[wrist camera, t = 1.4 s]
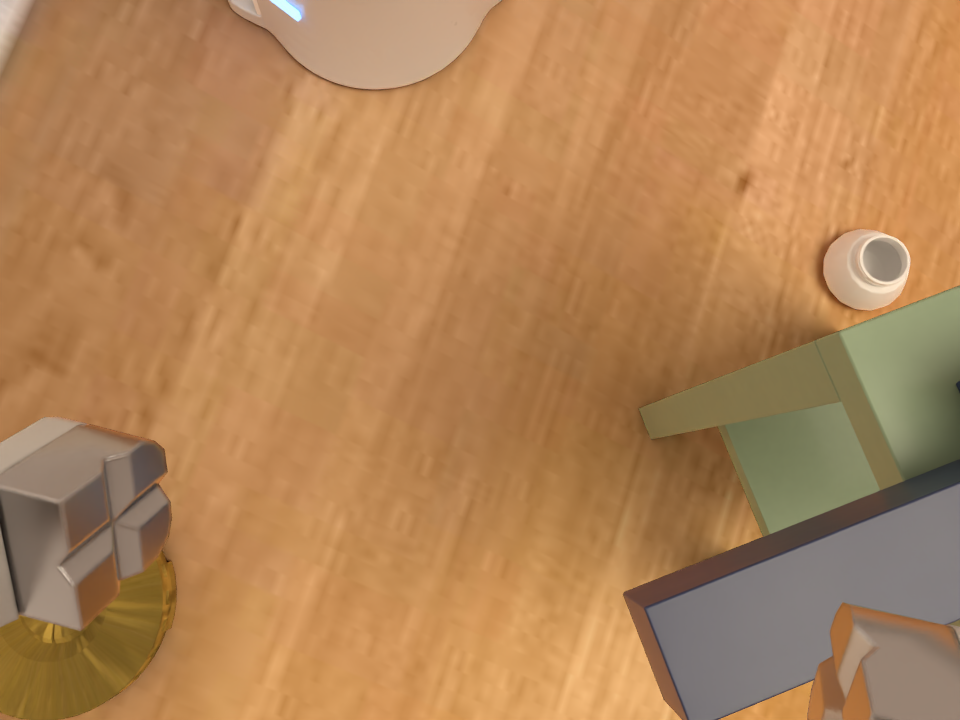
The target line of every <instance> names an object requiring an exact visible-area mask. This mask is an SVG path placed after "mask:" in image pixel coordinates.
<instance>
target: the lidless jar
mask: <svg viewBox="0 0 960 720" xmlns="http://www.w3.org/2000/svg"><path fill="white" fill-rule="evenodd" d="M909 268H910V256H909V252H908V250H907V248H906V247H905V245H904V244H903V243H902V242H901V241H900V240H898V239H897V238H895V237H893V236H889V235H887V234H885V233H882V232H879V231H876V230H866V229H857V230H854V231H851V232H847V233H844V234H843V235H841V236H840V237H839V238H838V239H837V240H836V241H834V242H833V243H832V244H831V245H830V247H829V249H828V251H827V253H826V255H825V257H824V269H823V275H824V277H825V280H826V283H827V285H828V288H829V290H830V291H831V292H832V293H833V294H834V295H835V297H836V298H837V299H838V300H839V301H840V302H842V303H844V304H846V305H848V306H850V307H852V308H854V309H858V310H869V311H872V310H875V309H878V308H881V307H884V306H887V305H889V304H890V303H892V302H893V301H894V300H895V299H896V298H897V297H898V296H899V295H901V292H902V290H903V288H904V286H905V283H906V281H907V278H908V274H909Z"/></svg>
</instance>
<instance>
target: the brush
mask: <svg viewBox="0 0 960 720" xmlns="http://www.w3.org/2000/svg"><path fill="white" fill-rule="evenodd" d="M956 386H957V388H958V391H959V393H960V381H958V382H957V383H956ZM623 596H624V598H625V601H626V604H627V606H628V609H629V611H630V614H631V616H632V619H633V622H634V624H635V627H636V629H637V632H638V634H639V637H640V640H641V642H642V645H643V647H644V650H645V653H646V655H647V658H648V660H649V663H650V665H651V668H652V671H653V673H654V676H655V678H656V681H657V684H658V686H659V689H660V691H661V694H662V696H663V699H664V700H665V702H666V703H667V704H668V705H669V706H670V707H671V708H672V709H673V710H674V711H675V712H676V713H677V714H678V716H679V717H680V718H681V719H682V720H718V719H721V718H723V717H725V716H728V715H730V714H733V713H735V712H738V711H740V710H742V709H745V708H747V707H750V706H752V705H754V704H757V703H759V702H762V701H764V700H767V699H769V698H771V697H774V696H776V695H779V694H781V693H784V692H786V691H788V690H791V689H793V688H796V687H798V686H800V685H803V684H805V683H808V682H810V681H813V680H814V678H815V675H816V671H817V668H818V665H819V664H820V663H821V662H823V661H825V660H826V659H828V658H830V657H831V656H833V653H832V646H831V640H830V633H829V631H830V629H831V626H832V623H833V620H834V617H835V614H836V612H837V610H838V609H839V607H840V605H841V604H842V602H844V603H849V604H853V605H858V606H862V607H867V608H871V609H875V610H880V611H884V612H889V613H893V614H898V615H902V616H907V617H911V618H916V619H920V620H924V621H929V622H933V623H938V624H942V625H947V624H950V623H953V622H955V621H958V620H960V459H958V460H956V461H953V462H951V463H948V464H946V465H943V466H941V467H938V468H936V469H933V470H931V471H928V472H926V473H923V474H921V475H918V476H915V477H913V478H910V479H908V480H905V481H903V482H900V483H898V484H895V485H893V486H890V487H888V488H885V489H883V490H880V491H878V492H875V493H873V494H870V495H868V496H865V497H863V498H860V499H857V500H855V501H852V502H850V503H847V504H845V505H842V506H840V507H837V508H835V509H832V510H830V511H827V512H825V513H822V514H820V515H817V516H815V517H812V518H810V519H807V520H805V521H802V522H799V523H797V524H794V525H792V526H789V527H787V528H784V529H782V530H779V531H777V532H774V533H772V534H769V535H767V536H764V537H762V538H759V539H757V540H754V541H752V542H749V543H747V544H744V545H741V546H739V547H736V548H734V549H731V550H729V551H726V552H724V553H721V554H719V555H716V556H714V557H711V558H709V559H706V560H704V561H701V562H699V563H696V564H694V565H691V566H689V567H686V568H683V569H681V570H678V571H676V572H673V573H671V574H668V575H666V576H663V577H661V578H658V579H656V580H653V581H651V582H648V583H646V584H643V585H641V586H638V587H636V588H633V589H631V590H628V591H625V592H624V593H623Z"/></svg>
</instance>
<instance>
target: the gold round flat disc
mask: <svg viewBox="0 0 960 720" xmlns="http://www.w3.org/2000/svg"><path fill="white" fill-rule="evenodd" d="M175 607H176V579H175V572H174V568H173V564H172V561H171V562H168V563H167V561H166V559H165V556H164V553H163V551H161V553H160V555H159V557H158V558H157V559H156V560H155V561H154V562H153V563H152V564H151V565H150V566H149V567H148V568H147V569H146V570H145V571H144V572H143V573H140V574H137V575H135V576H132V577H129V578H126V579H124V580H121V581H120V592H119V596H118V597H117V598H116V599H115V600H114V601H113V602H112V603H111V604H109V605H108V606H107V607H106V608H105V609H104V610H103V611H102V612H101V613H100V614H99V615H98V616H97V617H96V618H95V619H94V620H93V621H91V622H90V623H89V624H88V625H87V626H86V627H85V628H84V629H83V630H82V631H78V630H74V629H71V628H67V627H63V626H59V625H55V624H52V623H48V622H44V621H40V620H36V619H33V618H29V617H25V616H21V615H19V618H18V619H17V620H15V621H13V622H10V623H8V624H6V625H4V626H2V627H0V712H1V713H3V714H6V715H9V716H12V717H16V718H19V719H25V720H60V719H65V718H69V717H73V716H77V715H80V714H82V713H85V712H87V711H90V710H92V709H94V708H96V707H98V706H99V705H101V704H103V703H105V702H106V701H108V700H109V699H111V698H113V697H114V696H116V695H117V694H119V693H120V692H121V691H123V690H124V689H126V688H127V687H128V686H129V685H130V684H131V683H132V682H134V681H135V680H136V679H137V678H138V677H139V676H140V674H141V673H142V672H143V671H144V670H145V669H146V668H147V666H148V665H149V663H150V662H151V660H152V659H153V657H154V656H155V654H156V652H157V650H158V649H159V647H160V645H161V643H162V640H163V638H164V635H165V632H166V630H168V629H170V628H171V626H172V622H173V619H174V615H175Z"/></svg>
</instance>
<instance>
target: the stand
mask: <svg viewBox="0 0 960 720" xmlns="http://www.w3.org/2000/svg"><path fill="white" fill-rule="evenodd" d="M958 381H960V285H959V286H957V287H954V288H952V289H949V290H946V291H944V292H941V293H938V294H936V295H933V296H930V297H928V298H925V299H923V300H920V301H917V302H915V303H912V304H909V305H907V306H904V307H901V308H899V309H896V310H893V311H891V312H888V313H886V314H883V315H880V316H878V317H875V318H872V319H870V320H867V321H864V322H862V323H859V324H856V325H854V326H851V327H849V328H846V329H843V330H841V331H838V332H835V333H833V334H830V335H828V336H825V337H822V338H820V339H817V340H815V341H812V342H809V343H807V344H804V345H802V346H799V347H796V348H794V349H791V350H789V351H786V352H783V353H781V354H778V355H776V356H773V357H771V358H768V359H765V360H763V361H760V362H758V363H755V364H752V365H750V366H747V367H745V368H742V369H739V370H737V371H734V372H732V373H729V374H726V375H724V376H721V377H719V378H716V379H713V380H711V381H708V382H706V383H703V384H700V385H698V386H695V387H693V388H690V389H688V390H685V391H682V392H680V393H677V394H675V395H672V396H669V397H667V398H664V399H662V400H659V401H656V402H654V403H651V404H649V405H646V406H643V407H641V408H639V411H640V414H641V416H642V419H643V421H644V424H645V426H646V429H647V431H648V434H649V436H650V439H656V438H661V437H666V436H671V435H676V434H681V433H686V432H691V431H696V430H701V429H706V428H712V427H718V429H719V431H720V434H721V436H722V439H723V441H724V443H725V446H726V448H727V451H728V453H729V456H730V458H731V460H732V463H733V465H734V468H735V470H736V472H737V475H738V477H739V480H740V482H741V485H742V487H743V489H744V492H745V494H746V497H747V499H748V501H749V504H750V506H751V509H752V511H753V514H754V516H755V518H756V521H757V523H758V526H759V528H760V530H761V533H762V535H763V537H764V536H767V535H769V534H772V533H774V532H777V531H779V530H782V529H784V528H787V527H789V526H792V525H794V524H797V523H799V522H802V521H805V520H807V519H810V518H812V517H815V516H817V515H820V514H822V513H825V512H827V511H830V510H832V509H835V508H837V507H840V506H842V505H845V504H847V503H850V502H852V501H855V500H857V499H860V498H863V497H865V496H868V495H870V494H873V493H875V492H878V491H880V490H883V489H885V488H888V487H890V486H893V485H895V484H898V483H900V482H903V481H905V480H908V479H910V478H913V477H915V476H918V475H921V474H923V473H926V472H928V471H931V470H933V469H936V468H938V467H941V466H943V465H946V464H948V463H951V462H953V461H956V460H958V459H960V393H959V391H958V388H957V386H956V383H957V382H958ZM949 625H954V626H959V627H960V620H958V621H955V622H953V623H950V624H949Z"/></svg>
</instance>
